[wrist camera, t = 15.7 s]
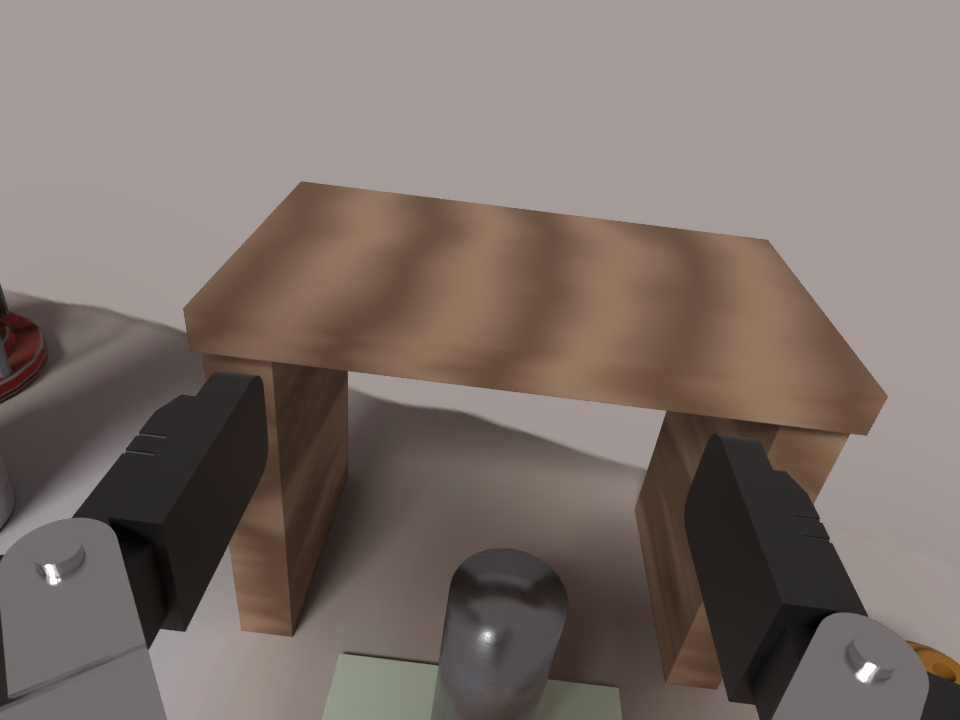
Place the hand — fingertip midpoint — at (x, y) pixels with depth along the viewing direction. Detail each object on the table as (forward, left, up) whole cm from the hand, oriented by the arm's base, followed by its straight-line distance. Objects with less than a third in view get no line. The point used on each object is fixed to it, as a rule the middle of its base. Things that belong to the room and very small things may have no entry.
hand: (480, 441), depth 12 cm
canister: (+2, +9, -28) cm, 29 cm away
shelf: (+2, +21, -28) cm, 35 cm away
